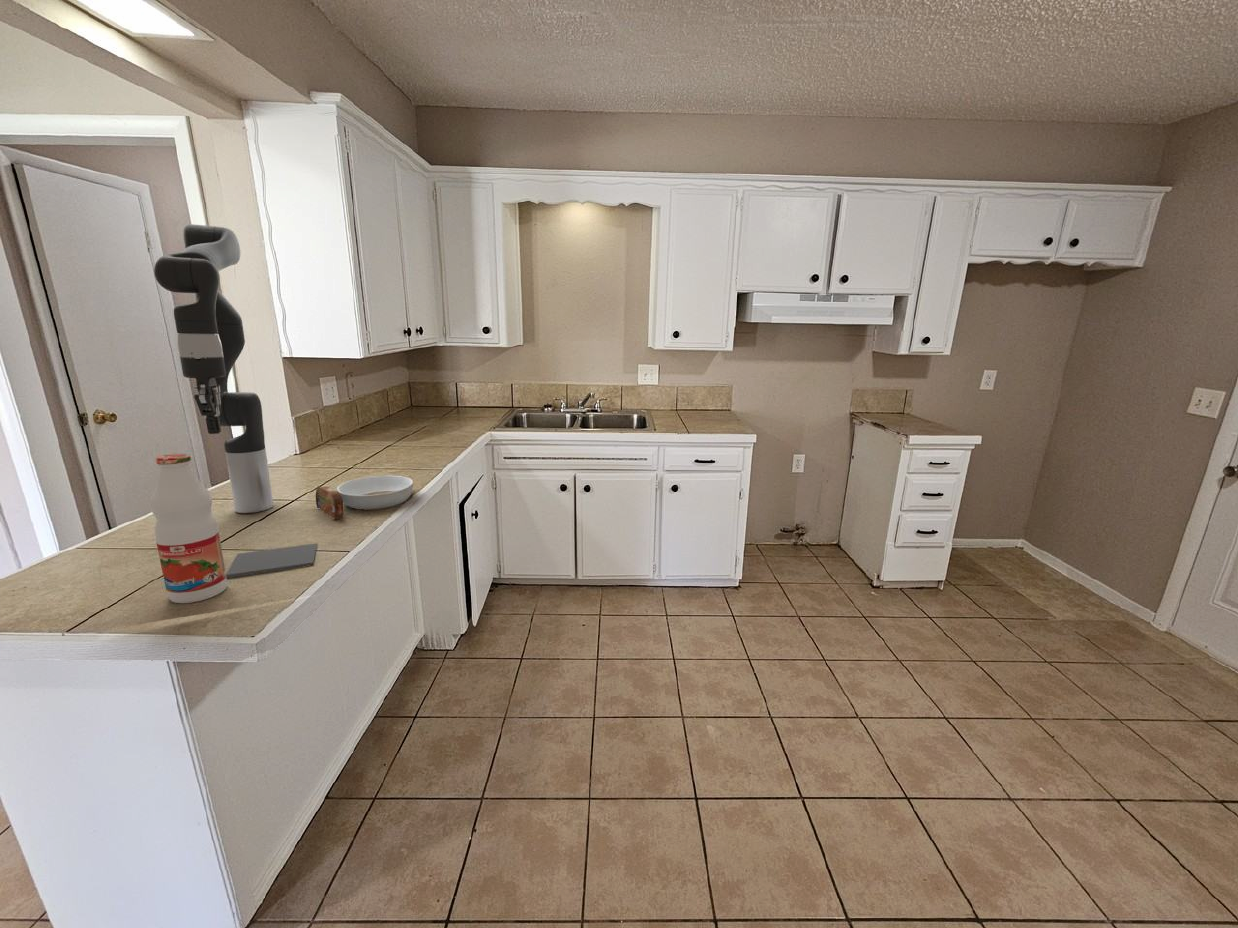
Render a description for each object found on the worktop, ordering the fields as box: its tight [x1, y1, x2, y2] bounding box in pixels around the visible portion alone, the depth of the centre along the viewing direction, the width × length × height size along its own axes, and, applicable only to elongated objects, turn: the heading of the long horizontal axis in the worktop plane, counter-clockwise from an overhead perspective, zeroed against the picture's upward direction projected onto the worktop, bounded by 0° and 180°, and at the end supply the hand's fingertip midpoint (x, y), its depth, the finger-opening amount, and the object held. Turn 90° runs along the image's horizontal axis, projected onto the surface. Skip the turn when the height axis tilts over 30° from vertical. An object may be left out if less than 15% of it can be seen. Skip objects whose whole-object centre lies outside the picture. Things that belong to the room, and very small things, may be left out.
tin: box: [315, 486, 344, 521], centre depth 146 cm, size 15×3×8 cm, turn 47°
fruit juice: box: [149, 453, 228, 604], centre depth 100 cm, size 9×9×28 cm
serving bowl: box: [336, 474, 414, 511], centre depth 157 cm, size 21×21×7 cm
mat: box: [226, 542, 318, 579], centre depth 118 cm, size 12×16×1 cm
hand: (214, 433), depth 118 cm, fingers closed
